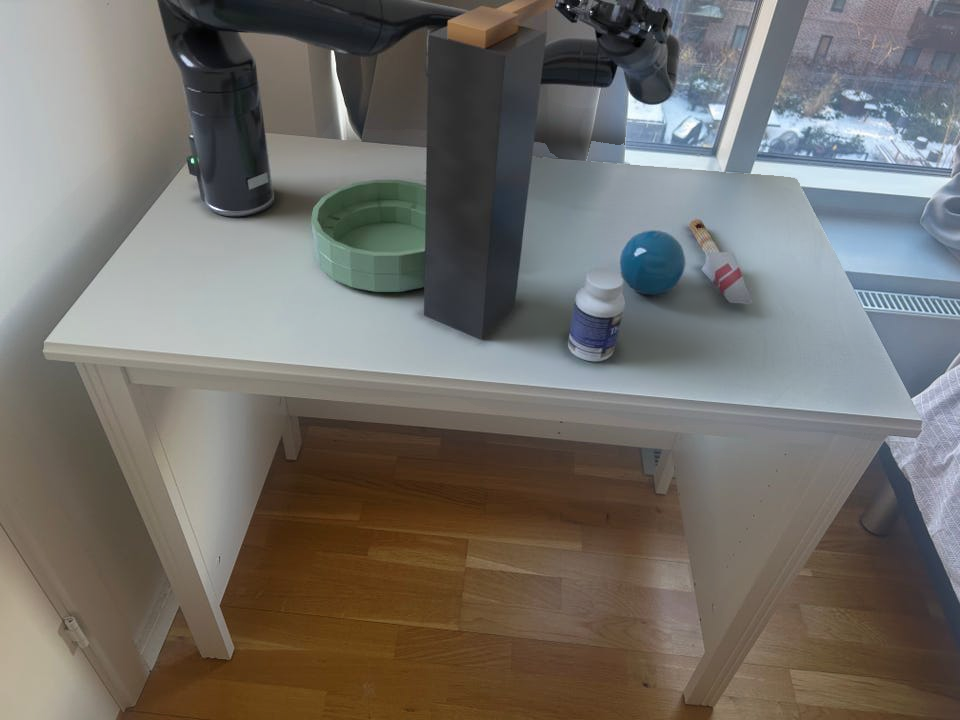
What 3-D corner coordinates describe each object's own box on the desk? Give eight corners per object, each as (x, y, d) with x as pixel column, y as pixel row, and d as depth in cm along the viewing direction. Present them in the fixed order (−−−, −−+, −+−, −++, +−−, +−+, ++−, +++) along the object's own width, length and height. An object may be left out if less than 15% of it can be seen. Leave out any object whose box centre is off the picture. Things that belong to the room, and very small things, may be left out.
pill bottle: (612, 367, 83) (629, 296, 76) (564, 358, 83) (577, 287, 77) (615, 337, 87) (631, 268, 80) (569, 329, 87) (582, 260, 81)
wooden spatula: (485, 49, 65) (486, 30, 64) (446, 39, 66) (447, 20, 65) (564, 8, 75) (566, -9, 74) (530, 0, 77) (531, -16, 76)
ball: (687, 288, 96) (703, 234, 90) (658, 315, 91) (674, 260, 85) (633, 264, 99) (645, 211, 94) (602, 289, 94) (614, 235, 89)
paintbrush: (728, 292, 90) (685, 215, 105) (722, 311, 91) (681, 232, 107) (759, 293, 90) (712, 216, 106) (753, 312, 92) (707, 233, 107)
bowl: (285, 263, 94) (279, 222, 90) (373, 205, 106) (372, 166, 103) (405, 315, 87) (405, 273, 84) (485, 247, 100) (488, 207, 96)
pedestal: (423, 315, 88) (428, 34, 67) (459, 283, 93) (473, 14, 72) (481, 340, 85) (505, 54, 64) (515, 305, 90) (546, 32, 69)
